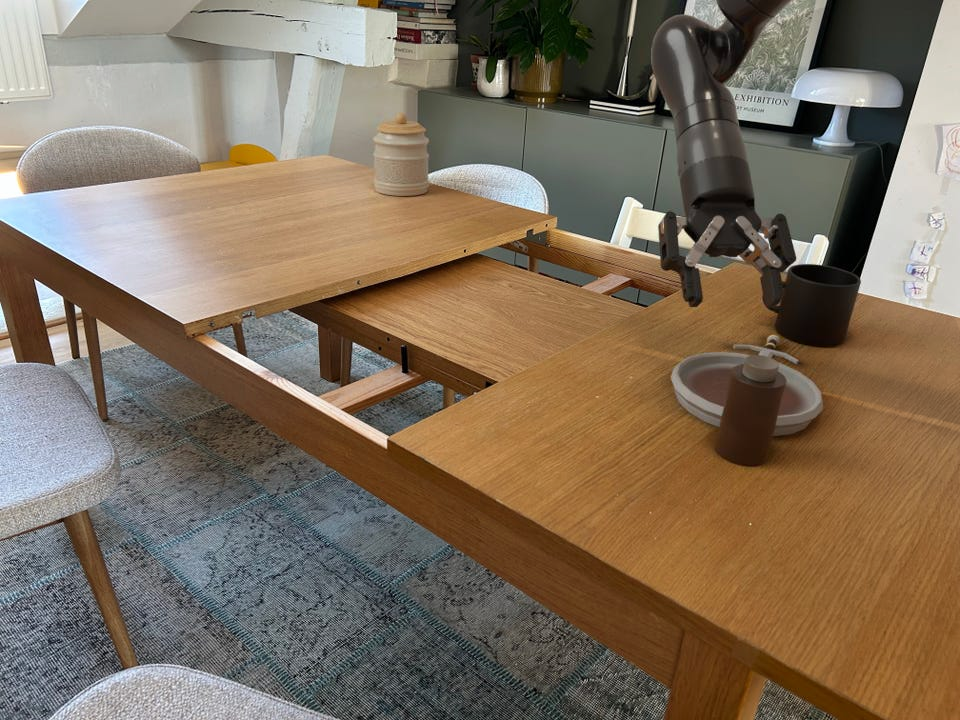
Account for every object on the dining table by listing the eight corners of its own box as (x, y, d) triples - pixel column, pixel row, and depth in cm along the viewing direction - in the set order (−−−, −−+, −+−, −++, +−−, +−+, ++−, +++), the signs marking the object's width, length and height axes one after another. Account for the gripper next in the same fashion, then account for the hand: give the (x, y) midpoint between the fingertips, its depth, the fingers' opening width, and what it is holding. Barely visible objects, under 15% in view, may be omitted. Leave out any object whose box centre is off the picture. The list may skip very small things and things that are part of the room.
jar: (430, 185, 180) (431, 110, 173) (427, 198, 169) (428, 118, 161) (376, 183, 180) (375, 107, 172) (370, 195, 168) (369, 115, 160)
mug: (759, 313, 112) (772, 256, 108) (844, 329, 108) (860, 270, 104) (752, 335, 104) (766, 275, 100) (844, 353, 100) (861, 291, 96)
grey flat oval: (843, 344, 97) (814, 433, 75) (838, 364, 98) (807, 457, 76) (714, 315, 104) (652, 387, 82) (710, 334, 106) (649, 410, 83)
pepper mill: (770, 447, 77) (793, 358, 73) (762, 471, 73) (786, 378, 69) (720, 433, 79) (740, 346, 75) (709, 456, 75) (729, 364, 71)
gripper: (663, 151, 78) (683, 289, 73) (790, 154, 80) (817, 290, 75) (642, 189, 86) (658, 318, 80) (758, 191, 87) (781, 318, 82)
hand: (735, 304), depth 78 cm, fingers open, 8 cm apart
